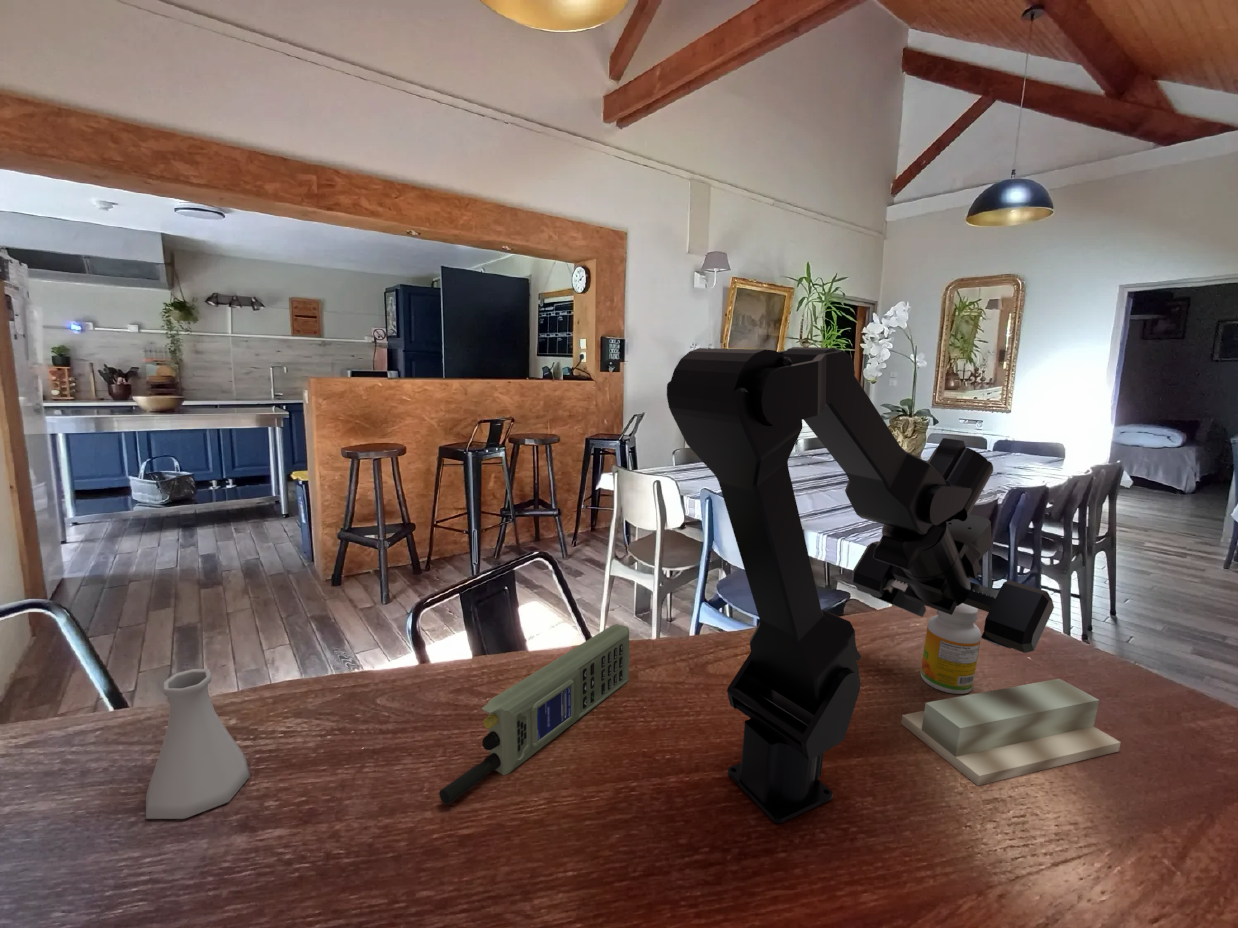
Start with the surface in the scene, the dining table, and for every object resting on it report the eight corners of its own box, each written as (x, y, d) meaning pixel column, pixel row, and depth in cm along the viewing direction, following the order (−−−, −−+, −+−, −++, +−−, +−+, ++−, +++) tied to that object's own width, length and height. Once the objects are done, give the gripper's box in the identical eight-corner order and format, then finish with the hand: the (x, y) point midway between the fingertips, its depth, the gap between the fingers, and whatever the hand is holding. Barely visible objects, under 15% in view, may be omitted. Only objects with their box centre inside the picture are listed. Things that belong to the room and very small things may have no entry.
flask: (163, 768, 50) (150, 662, 48) (259, 751, 52) (250, 650, 50) (126, 833, 43) (109, 713, 41) (239, 810, 45) (228, 696, 44)
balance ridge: (977, 785, 51) (984, 745, 50) (901, 723, 59) (906, 688, 59) (1118, 751, 56) (1126, 714, 56) (1030, 698, 65) (1036, 666, 64)
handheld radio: (633, 683, 65) (457, 822, 45) (610, 674, 67) (431, 804, 47) (634, 628, 64) (454, 745, 44) (610, 620, 66) (427, 730, 46)
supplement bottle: (921, 665, 71) (932, 591, 69) (972, 678, 68) (984, 602, 67) (918, 685, 67) (929, 607, 65) (972, 701, 64) (986, 620, 62)
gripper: (1065, 514, 53) (1082, 599, 62) (876, 476, 68) (911, 548, 77) (1017, 613, 50) (1042, 687, 59) (830, 550, 65) (872, 617, 74)
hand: (959, 626), depth 67 cm, fingers open, 8 cm apart
